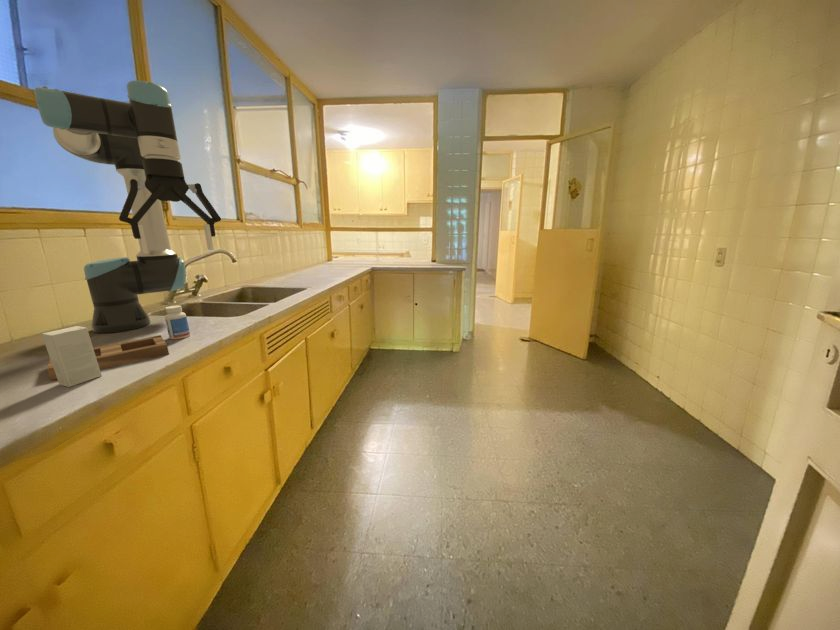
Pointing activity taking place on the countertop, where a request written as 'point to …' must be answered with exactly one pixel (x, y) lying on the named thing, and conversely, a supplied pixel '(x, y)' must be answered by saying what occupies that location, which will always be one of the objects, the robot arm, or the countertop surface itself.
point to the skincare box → (72, 355)
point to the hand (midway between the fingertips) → (180, 251)
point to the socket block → (125, 352)
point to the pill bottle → (176, 322)
